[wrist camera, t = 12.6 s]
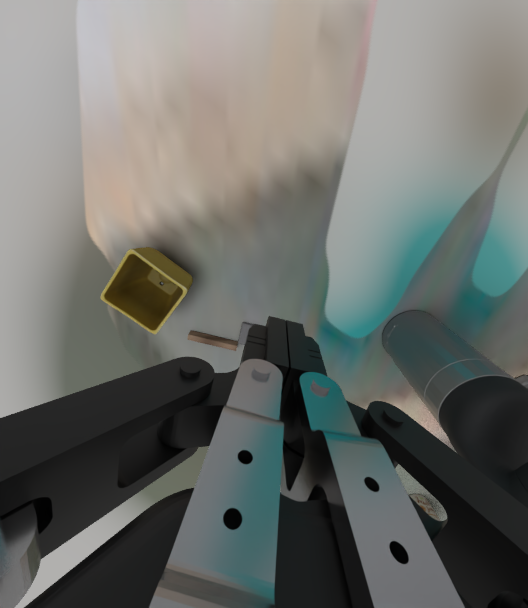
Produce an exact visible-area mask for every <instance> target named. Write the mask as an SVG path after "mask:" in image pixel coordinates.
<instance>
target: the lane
mask: <svg viewBox="0 0 528 608" xmlns="http://www.w3.org/2000/svg"><path fill="white" fill-rule="evenodd" d="M188 340H192V341H196V342H200V343H205V344H209V345H213V346H217V347H222V348H226V349H230V350H234V351H236V348H237V344H238V341H233V340H229V339H225V338H221V337H217V336H212V335H208V334H204V333H200V332H196V331H190V333H189V334H188Z"/></svg>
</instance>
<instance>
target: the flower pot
mask: <svg viewBox="0 0 528 608" xmlns="http://www.w3.org/2000/svg"><path fill="white" fill-rule="evenodd" d="M160 282H163V285H161V284H160ZM192 282H193V279H192V276H191V275H190V274H189V273H187V272H186V271H185V270H183V269H182V268H181V267H179V266H178V265H177V264H175V263H174V262H172V261H171V260H170V259H168V258H167V257H166V256H165V255H163V254H162V253H161V252H159V251H157V250H156V249H153V248H149V247H146V248H136V249H129V250H128V251H127V253H126V254H125V256H124V258H123V259H122V261H121V263H120V265H119V266H118V268H117V270H116V271H115V273H114V275H113V276H112V278H111V279H110V281H109V283H108V284H107V286H106V287H105V289H104V290H103V292H102V294H101V300H103V301H104V302H105V303H107V304H108V305H110V306H112V307H113V308H115V309H116V310H118V311H120V312H121V313H123V314H124V315H126V316H127V317H129V318H130V319H132V320H133V321H135V322H136V323H137V324H139V325H140V326H142V327H143V328H145V329H146V330H148V331H149V332H151V333H153V334H157V333H158V331H159V330H160V329H161V327H162V326H163V324H164V323H165V322H166V320H167V319H168V318H169V316H170V315H171V314H172V312H173V311H174V310H175V308H176V307H177V306H178V305H179V303H180V302H181V301H182V299H183V298H184V297H185V295H186V294H187V292H188V290H189V288H190V286H191V285H192ZM174 283H175V284H174Z"/></svg>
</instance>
